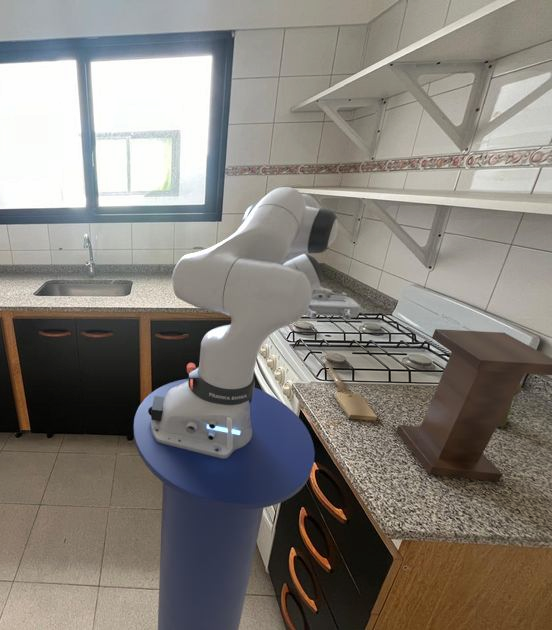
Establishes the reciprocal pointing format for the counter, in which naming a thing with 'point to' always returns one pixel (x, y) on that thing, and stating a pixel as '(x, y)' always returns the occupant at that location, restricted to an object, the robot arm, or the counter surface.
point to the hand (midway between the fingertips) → (331, 316)
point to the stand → (471, 401)
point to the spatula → (351, 401)
